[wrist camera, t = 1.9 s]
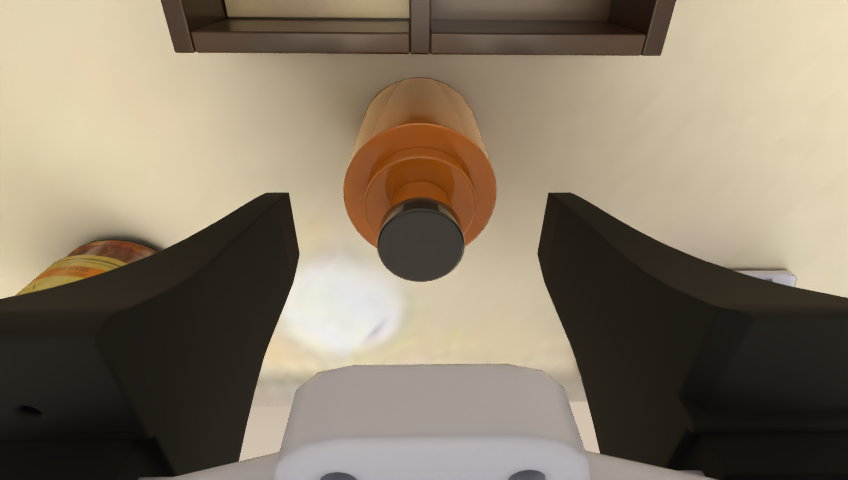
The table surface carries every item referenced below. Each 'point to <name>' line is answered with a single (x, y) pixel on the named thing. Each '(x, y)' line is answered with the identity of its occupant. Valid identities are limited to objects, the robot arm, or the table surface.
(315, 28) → the holder
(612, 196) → the table surface
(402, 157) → the amber bottle
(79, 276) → the sauce bottle
